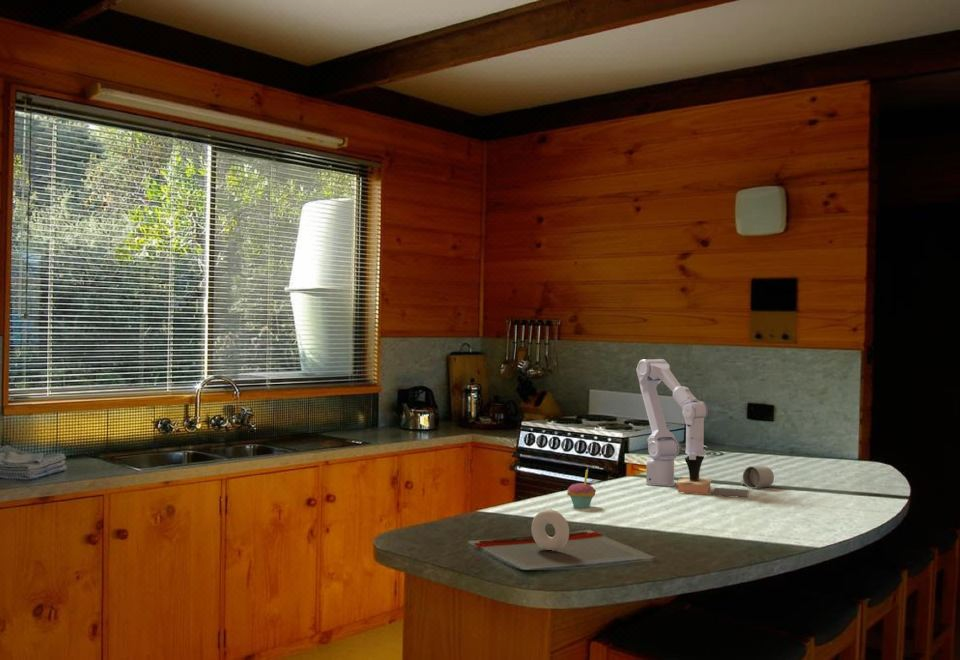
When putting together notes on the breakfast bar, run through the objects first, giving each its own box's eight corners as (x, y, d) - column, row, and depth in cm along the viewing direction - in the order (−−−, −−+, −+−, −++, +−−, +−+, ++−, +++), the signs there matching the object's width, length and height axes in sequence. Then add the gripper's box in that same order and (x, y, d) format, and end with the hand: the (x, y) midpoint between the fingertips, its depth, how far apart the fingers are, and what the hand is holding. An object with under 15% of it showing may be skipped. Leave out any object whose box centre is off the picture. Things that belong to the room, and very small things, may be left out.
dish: (677, 492, 291) (678, 483, 291) (681, 488, 300) (681, 479, 300) (707, 494, 288) (707, 485, 288) (710, 489, 297) (710, 481, 297)
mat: (711, 495, 287) (711, 494, 287) (714, 488, 299) (714, 487, 299) (746, 497, 283) (746, 496, 283) (748, 491, 295) (748, 489, 295)
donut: (528, 549, 213) (528, 508, 213) (535, 546, 215) (535, 505, 215) (564, 555, 207) (565, 513, 207) (571, 552, 210) (572, 510, 210)
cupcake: (598, 505, 268) (599, 466, 268) (590, 510, 260) (590, 470, 260) (572, 503, 271) (572, 464, 271) (562, 508, 264) (563, 467, 264)
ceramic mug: (775, 488, 301) (775, 465, 302) (760, 490, 297) (760, 467, 297) (750, 484, 310) (750, 462, 310) (735, 486, 306) (735, 464, 306)
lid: (676, 483, 291) (676, 468, 291) (680, 478, 300) (680, 464, 300) (709, 485, 287) (709, 470, 287) (711, 480, 297) (711, 466, 297)
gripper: (705, 441, 286) (704, 482, 286) (708, 436, 299) (708, 476, 299) (683, 439, 288) (682, 481, 288) (687, 435, 302) (687, 474, 302)
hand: (694, 478), depth 294 cm, fingers closed on lid, 3 cm apart
